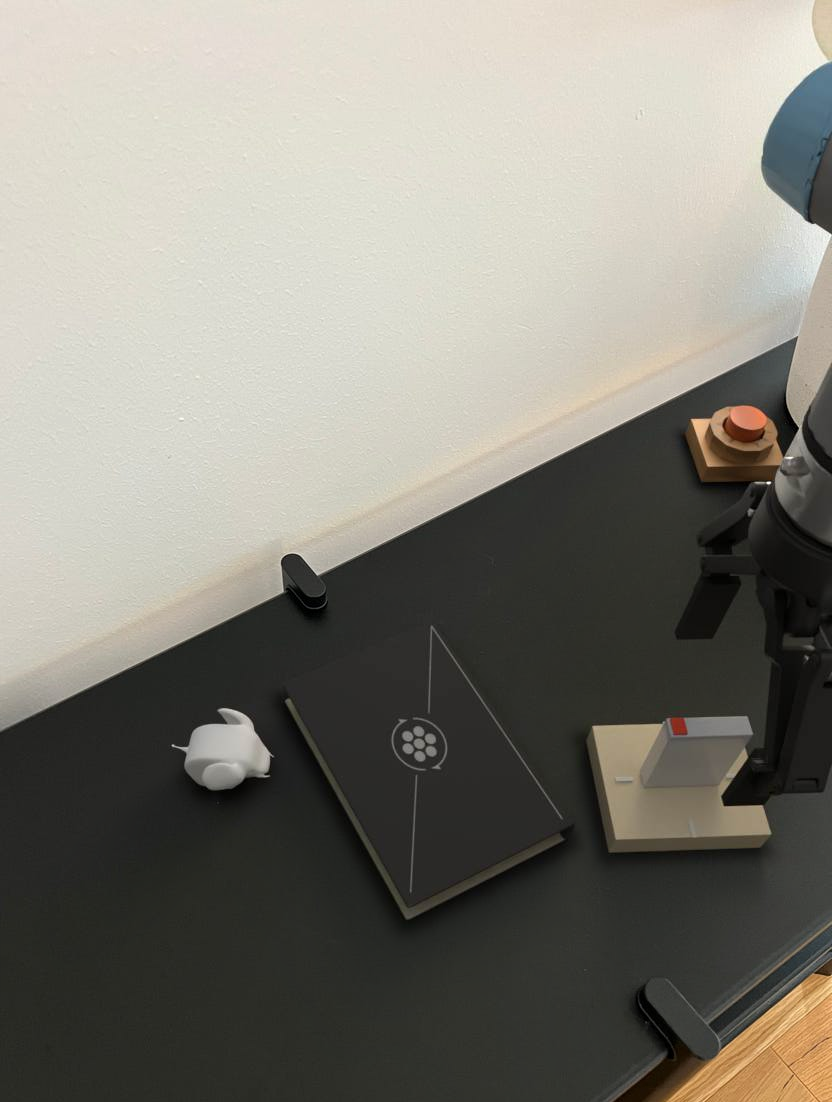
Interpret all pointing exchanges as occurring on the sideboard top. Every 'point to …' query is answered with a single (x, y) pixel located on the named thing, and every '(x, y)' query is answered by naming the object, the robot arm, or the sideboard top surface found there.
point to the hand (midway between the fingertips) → (716, 713)
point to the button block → (732, 451)
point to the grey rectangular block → (695, 751)
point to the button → (745, 424)
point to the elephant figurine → (226, 752)
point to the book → (425, 768)
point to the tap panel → (664, 800)
